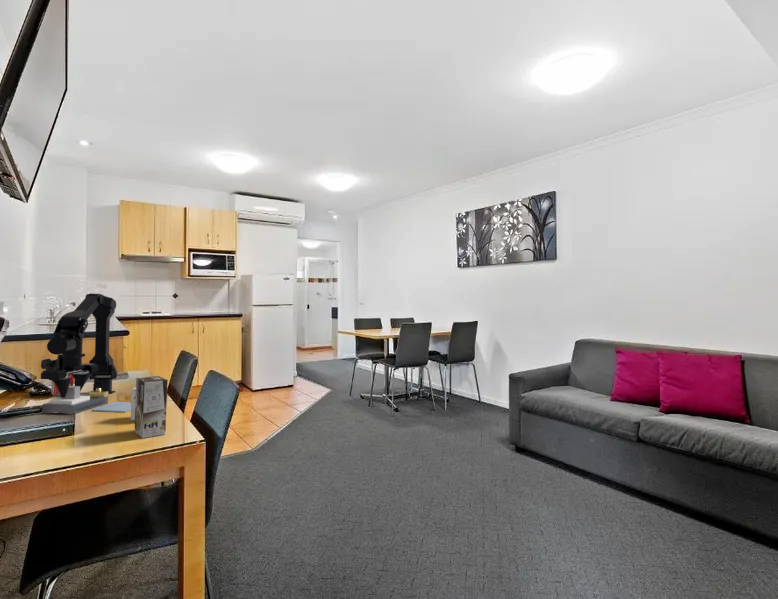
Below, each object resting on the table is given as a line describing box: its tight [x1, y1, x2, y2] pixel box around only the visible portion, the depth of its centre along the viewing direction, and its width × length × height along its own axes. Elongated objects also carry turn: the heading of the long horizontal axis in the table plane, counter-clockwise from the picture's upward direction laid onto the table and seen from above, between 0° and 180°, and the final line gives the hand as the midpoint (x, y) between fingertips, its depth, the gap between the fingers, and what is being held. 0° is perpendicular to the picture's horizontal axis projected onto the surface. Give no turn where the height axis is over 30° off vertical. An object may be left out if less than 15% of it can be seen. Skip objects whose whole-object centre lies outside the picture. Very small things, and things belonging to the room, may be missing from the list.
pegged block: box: [88, 388, 109, 397], centre depth 154 cm, size 2×6×3 cm, turn 87°
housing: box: [41, 393, 109, 415], centre depth 148 cm, size 16×11×3 cm
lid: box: [48, 385, 90, 405], centre depth 146 cm, size 8×8×5 cm
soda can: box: [51, 371, 75, 397], centre depth 169 cm, size 7×7×12 cm
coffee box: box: [134, 375, 169, 439], centre depth 123 cm, size 9×6×16 cm
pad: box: [91, 401, 131, 413], centre depth 151 cm, size 12×12×1 cm
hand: (70, 395), depth 146 cm, fingers open, 6 cm apart
